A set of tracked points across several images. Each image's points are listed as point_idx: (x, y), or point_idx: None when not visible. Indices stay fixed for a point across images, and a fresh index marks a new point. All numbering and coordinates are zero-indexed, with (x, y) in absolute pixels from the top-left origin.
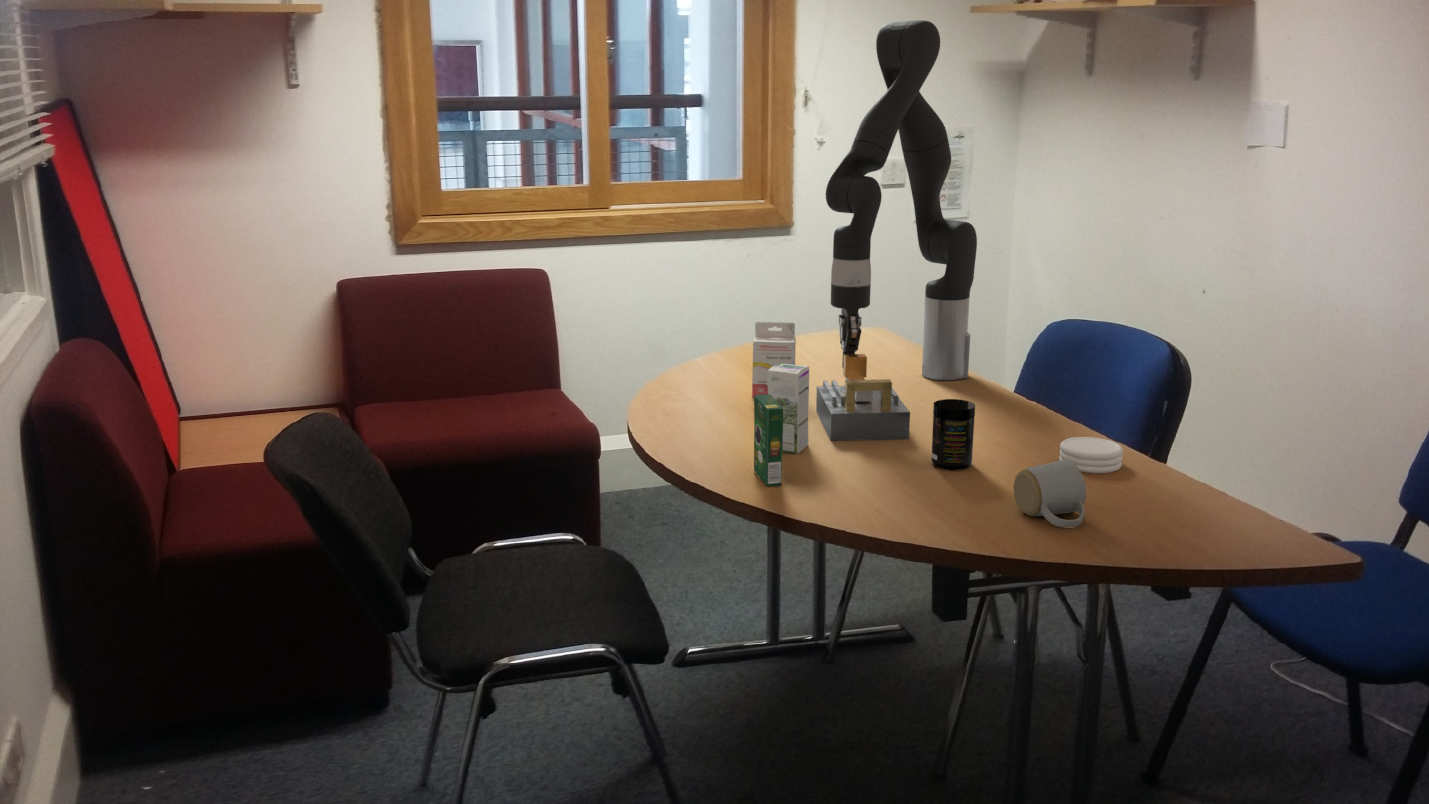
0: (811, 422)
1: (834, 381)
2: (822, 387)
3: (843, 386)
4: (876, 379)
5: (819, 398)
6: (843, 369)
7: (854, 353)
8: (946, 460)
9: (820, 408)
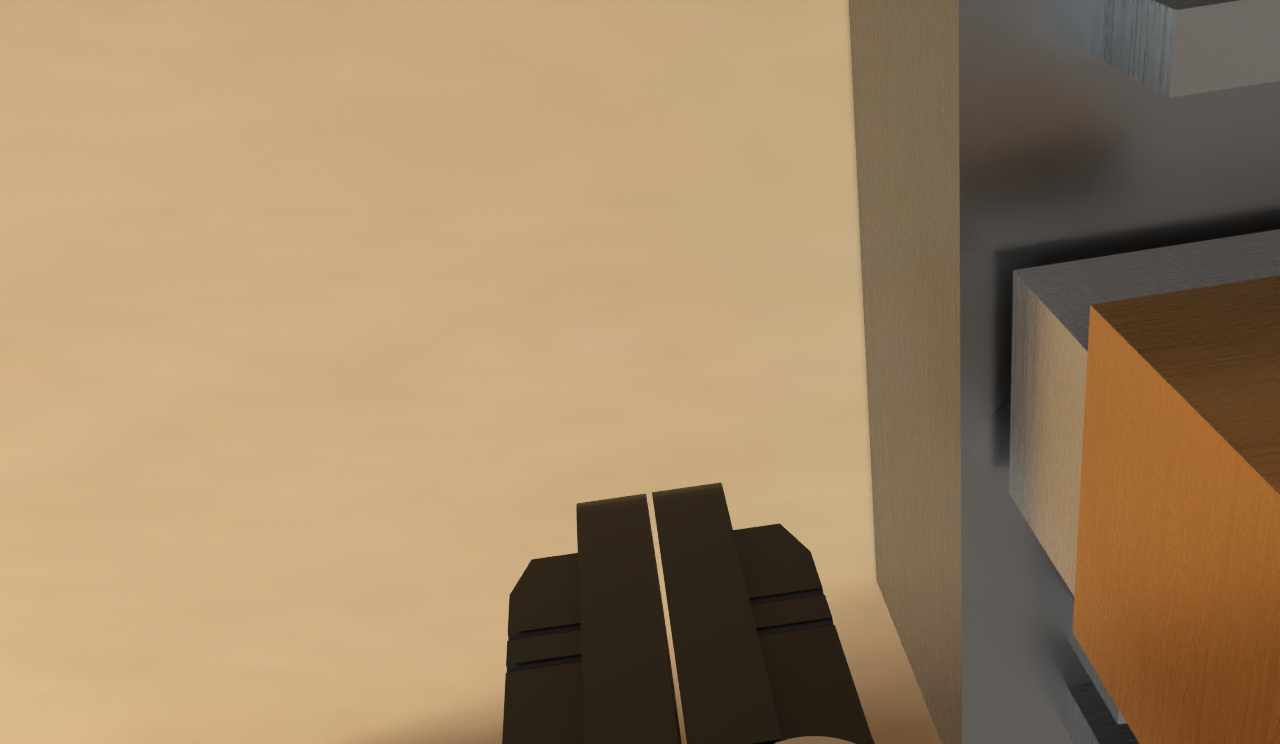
0: None
1: None
2: (1031, 735)
3: (1006, 506)
4: (1174, 29)
5: None
6: (1121, 700)
7: (778, 724)
8: None
9: None
